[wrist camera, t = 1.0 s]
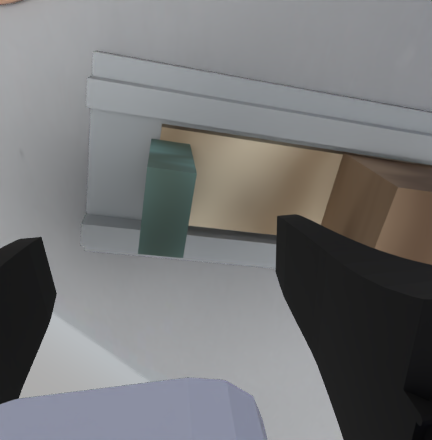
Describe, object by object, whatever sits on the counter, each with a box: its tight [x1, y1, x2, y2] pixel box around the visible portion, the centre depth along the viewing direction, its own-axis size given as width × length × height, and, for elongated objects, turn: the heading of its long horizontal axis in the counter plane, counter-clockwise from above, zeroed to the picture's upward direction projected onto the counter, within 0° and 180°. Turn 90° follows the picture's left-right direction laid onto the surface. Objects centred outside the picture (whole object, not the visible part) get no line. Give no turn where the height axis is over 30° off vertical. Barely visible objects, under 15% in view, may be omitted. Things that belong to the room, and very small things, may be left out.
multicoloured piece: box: [138, 124, 432, 258], centre depth 18 cm, size 15×5×5 cm, turn 80°
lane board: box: [80, 51, 432, 269], centre depth 20 cm, size 20×10×2 cm, turn 80°
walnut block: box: [321, 153, 432, 265], centre depth 18 cm, size 5×5×5 cm
